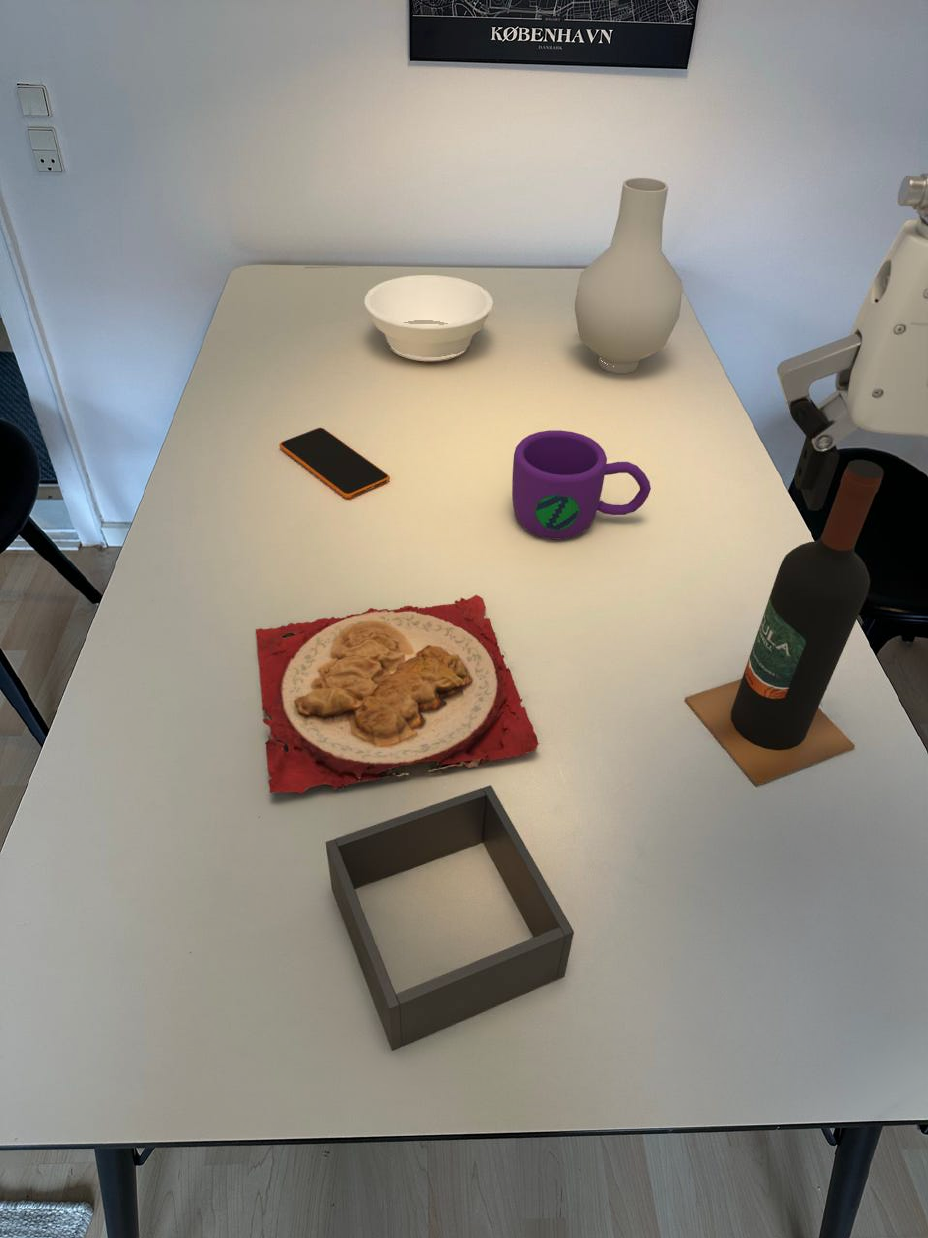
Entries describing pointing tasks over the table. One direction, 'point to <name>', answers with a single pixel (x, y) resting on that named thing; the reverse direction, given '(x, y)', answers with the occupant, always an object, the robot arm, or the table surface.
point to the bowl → (428, 313)
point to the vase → (630, 284)
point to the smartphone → (334, 462)
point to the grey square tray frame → (477, 982)
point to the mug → (565, 483)
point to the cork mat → (754, 759)
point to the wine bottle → (807, 621)
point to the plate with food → (387, 695)
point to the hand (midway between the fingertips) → (889, 502)
